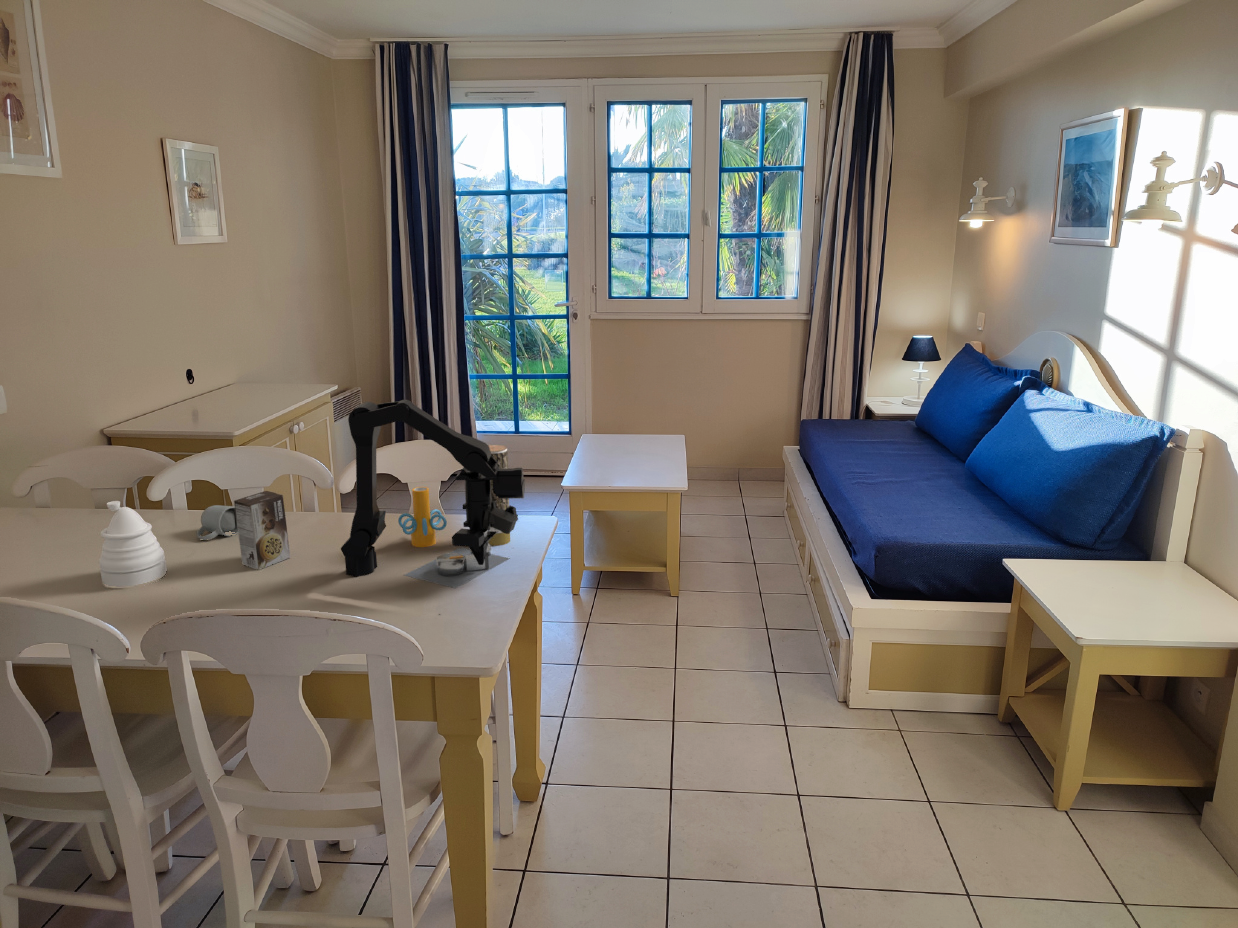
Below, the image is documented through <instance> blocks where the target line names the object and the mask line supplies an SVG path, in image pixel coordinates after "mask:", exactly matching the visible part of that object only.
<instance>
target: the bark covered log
mask: <svg viewBox="0 0 1238 928" xmlns="http://www.w3.org/2000/svg"><path fill="white" fill-rule="evenodd" d="M487 445H488V444H487ZM488 446H489V447H490V451H491V455H492V457H493V458H494V459H495V460H496V461H497V463H498V464H499V465H500V469H509V457H508V455H509V454H508V447H507V446H505V445H501V444H489V445H488ZM491 500H494V502H495V503H496V508H498V509H502V508H503V510H505V509H507V508H508V507H509V506H510V498H501V499H499V498H498V496H496V495H495V494H494V493H493V480H491ZM489 529H491V531H494V532H497V533H496V534H495V535H494V536H493V537H492V538H491V539H490V540H489V544H490V546H491V547H492V546H493V547H498V546H504V545H507V544H510V542H511V532H510V533H509V534H505V533H503V532H502V531H500V530H498V529H495V528H493V527H491V526H490V528H489Z"/></svg>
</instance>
